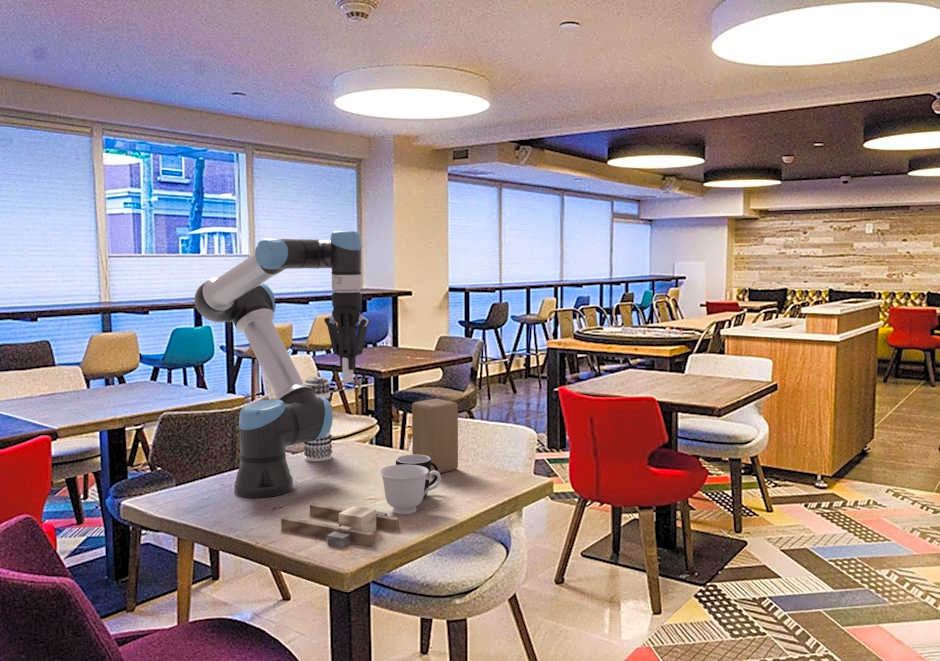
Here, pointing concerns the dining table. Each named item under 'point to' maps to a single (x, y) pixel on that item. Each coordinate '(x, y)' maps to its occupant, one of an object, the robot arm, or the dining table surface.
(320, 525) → the beam slot
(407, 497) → the teacup
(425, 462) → the mug
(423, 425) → the block
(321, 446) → the decorative candle
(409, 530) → the dining table surface
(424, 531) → the dining table surface
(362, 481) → the dining table surface
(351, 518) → the block
